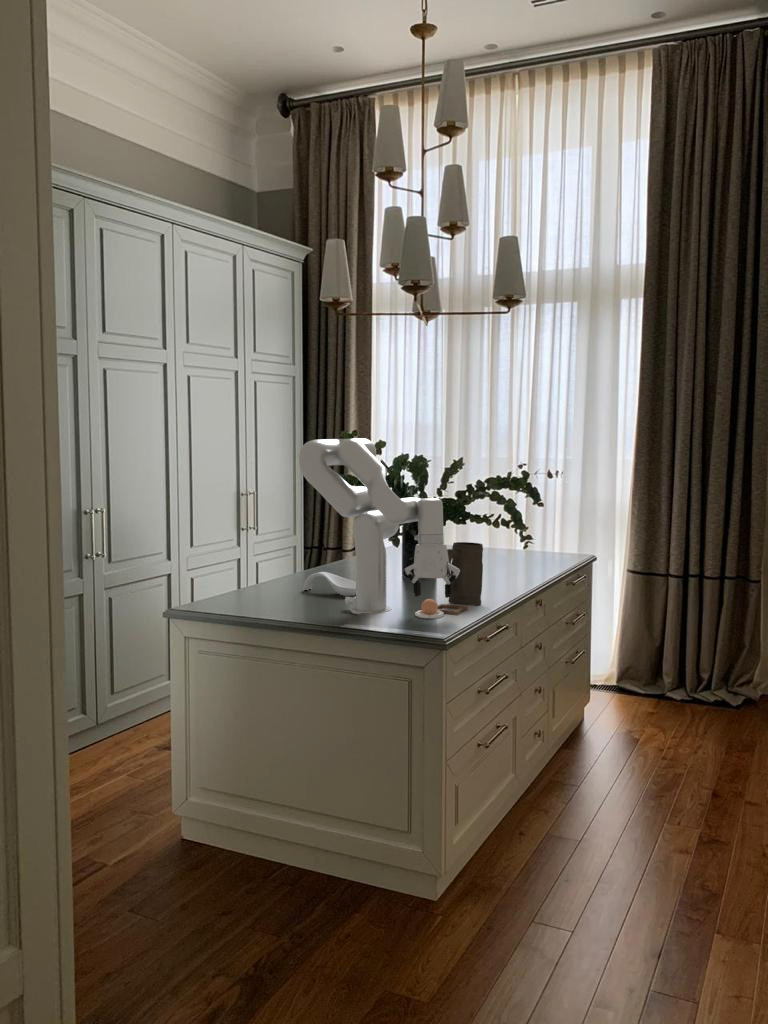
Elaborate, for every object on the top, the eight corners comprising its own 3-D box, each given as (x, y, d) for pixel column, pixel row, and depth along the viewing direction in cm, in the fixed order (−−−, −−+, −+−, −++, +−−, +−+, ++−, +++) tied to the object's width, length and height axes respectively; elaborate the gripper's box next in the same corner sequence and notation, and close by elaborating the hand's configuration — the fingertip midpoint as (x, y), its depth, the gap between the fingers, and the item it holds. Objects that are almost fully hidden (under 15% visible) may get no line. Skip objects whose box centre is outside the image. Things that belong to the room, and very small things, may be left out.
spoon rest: (373, 594, 318) (373, 573, 317) (357, 599, 307) (357, 578, 307) (314, 588, 328) (314, 568, 328) (296, 593, 318) (296, 573, 317)
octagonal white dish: (412, 620, 274) (412, 613, 274) (421, 615, 282) (421, 608, 282) (437, 622, 271) (437, 616, 271) (446, 617, 279) (446, 611, 278)
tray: (430, 615, 281) (430, 609, 281) (440, 610, 289) (440, 603, 289) (457, 618, 278) (458, 611, 277) (467, 612, 286) (467, 606, 286)
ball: (418, 616, 275) (418, 599, 275) (424, 613, 280) (424, 596, 279) (434, 617, 273) (434, 601, 273) (440, 614, 278) (440, 598, 277)
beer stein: (461, 599, 307) (462, 540, 306) (488, 603, 301) (489, 542, 299) (434, 606, 296) (435, 544, 294) (462, 610, 289) (463, 547, 287)
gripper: (399, 540, 274) (401, 597, 275) (454, 541, 267) (456, 599, 268) (409, 538, 281) (410, 593, 282) (462, 538, 274) (464, 595, 275)
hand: (432, 596), depth 275 cm, fingers open, 9 cm apart
